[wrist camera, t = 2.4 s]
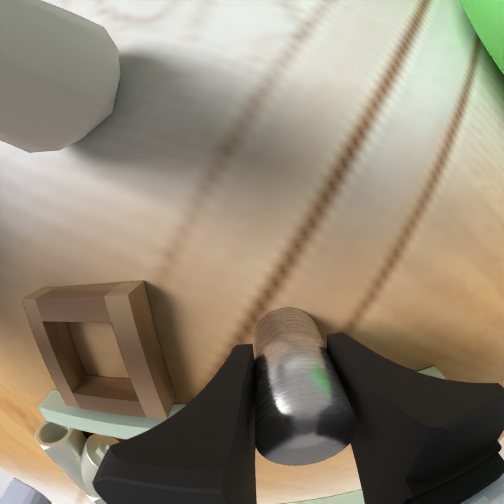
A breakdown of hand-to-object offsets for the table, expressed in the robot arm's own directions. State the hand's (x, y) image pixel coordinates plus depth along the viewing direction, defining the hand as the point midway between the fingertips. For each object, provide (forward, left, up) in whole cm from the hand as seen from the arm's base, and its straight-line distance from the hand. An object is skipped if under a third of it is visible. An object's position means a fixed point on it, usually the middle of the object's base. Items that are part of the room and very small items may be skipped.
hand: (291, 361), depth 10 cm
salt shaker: (+12, +8, -2) cm, 15 cm away
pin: (0, 0, -2) cm, 2 cm away
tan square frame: (0, +9, -2) cm, 9 cm away
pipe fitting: (-10, +14, -2) cm, 17 cm away
